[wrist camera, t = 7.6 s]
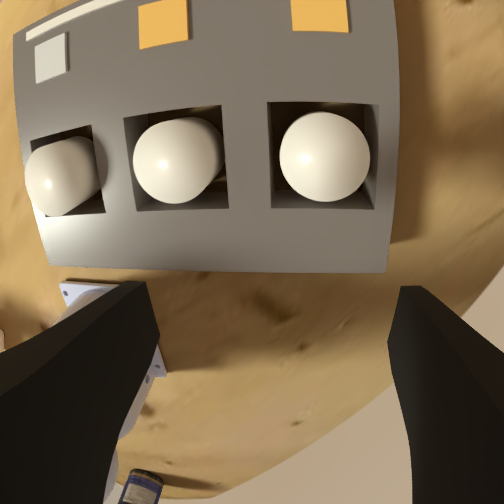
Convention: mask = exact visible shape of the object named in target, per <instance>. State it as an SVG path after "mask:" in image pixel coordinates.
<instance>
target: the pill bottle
mask: <svg viewBox="0 0 504 504" xmlns="http://www.w3.org/2000/svg"><path fill="white" fill-rule="evenodd" d="M163 485H164V483H163V481H162V479H161V478H159V477H157V476H155V475H153V474H151V473H149V472H146V471H143V470H138V469H135V470H131V471H130V473H129V475H128V478H127V481H126V483H125V486H124V489H123V491H122V494H121V497H120V499H119V503H118V504H158V501H159V498H160V495H161V491H162V488H163Z"/></svg>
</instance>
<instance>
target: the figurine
mask: <svg viewBox="0 0 504 504" xmlns="http://www.w3.org/2000/svg"><path fill="white" fill-rule="evenodd" d="M3 351H4V332H3V331H2V330H1V329H0V353H1V352H3Z"/></svg>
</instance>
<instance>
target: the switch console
mask: <svg viewBox="0 0 504 504" xmlns="http://www.w3.org/2000/svg"><path fill="white" fill-rule="evenodd" d="M13 74H14V93H15V105H16V116H17V124H18V132H19V140H20V146H21V152H22V158H23V164H24V169H26V164H27V161H28V159H29V157H30V155H31V154H32V153H33V152H34V151H35V150H36V149H38V148H40V147H42V146H45V145H49V144H52V143H55V142H58V141H60V136H59V132H62V131H66V130H70V129H74V128H78V127H82V126H87V125H91V126H92V134H93V141H94V148H95V155H96V162H97V168H98V174H99V179H100V185H101V190H102V196H103V198H102V199H91V200H86V201H84V202H83V203H81V204H80V205H78V206H76V207H75V208H73V209H72V210H70V211H69V212H67V213H66V214H64V215H62V216H59V217H51V216H48V215H45V214H43V213H42V212H41V211H40V210H38V209H37V208H36V206H35V205H34V204H33V202H32V201H31V202H32V206H33V210H34V214H35V218H36V221H37V225H38V229H39V232H40V236H41V239H42V242H43V246H44V249H45V252H46V255H47V258H48V261H49V264H50V266H67V267H90V268H115V269H144V270H177V271H217V272H273V273H385V271H386V265H387V258H388V252H389V245H390V238H391V230H392V222H393V213H394V204H395V194H396V182H397V169H398V152H399V125H400V83H399V57H398V41H397V29H396V18H395V9H394V1H393V0H79V1H77V2H75V3H73V4H70V5H68V6H66V7H64V8H62V9H60V10H58V11H56V12H54V13H52V14H50V15H48V16H46V17H44V18H42V19H40V20H38V21H36V22H35V23H33V24H31V25H29V26H27V27H26V28H24V29H22V30H20V31H19V32H17V33H15V34H14V35H13ZM292 101H306V102H343V103H361V104H365V139H366V141H367V144H368V147H369V152H370V165H369V169H368V173H367V175H366V177H365V179H364V181H363V191H362V192H353V193H352V194H350V195H349V196H347V197H345V198H342V199H340V200H336V201H330V202H322V201H315V200H312V199H309V198H306V197H304V196H302V195H301V194H299V193H298V192H297V191H274V163H273V137H272V114H271V102H292ZM211 105H222V120H223V134H224V148H225V161H226V174H227V187H228V192H201V193H200V194H199V195H198V196H196V197H195V198H193V199H191V200H189V201H187V202H183V203H177V204H172V203H165V202H162V201H159V200H157V199H155V198H153V197H152V196H150V195H149V194H148V193H147V192H146V191H145V190H144V189H143V188H142V186H141V185H140V183H139V182H138V180H137V178H136V175H135V172H134V167H133V154H134V150H135V146H136V144H137V142H138V140H139V138H140V137H141V136H142V134H143V133H144V132H145V131H146V130H147V129H149V118H148V113H154V112H161V111H168V110H175V109H183V108H192V107H201V106H211Z"/></svg>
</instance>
